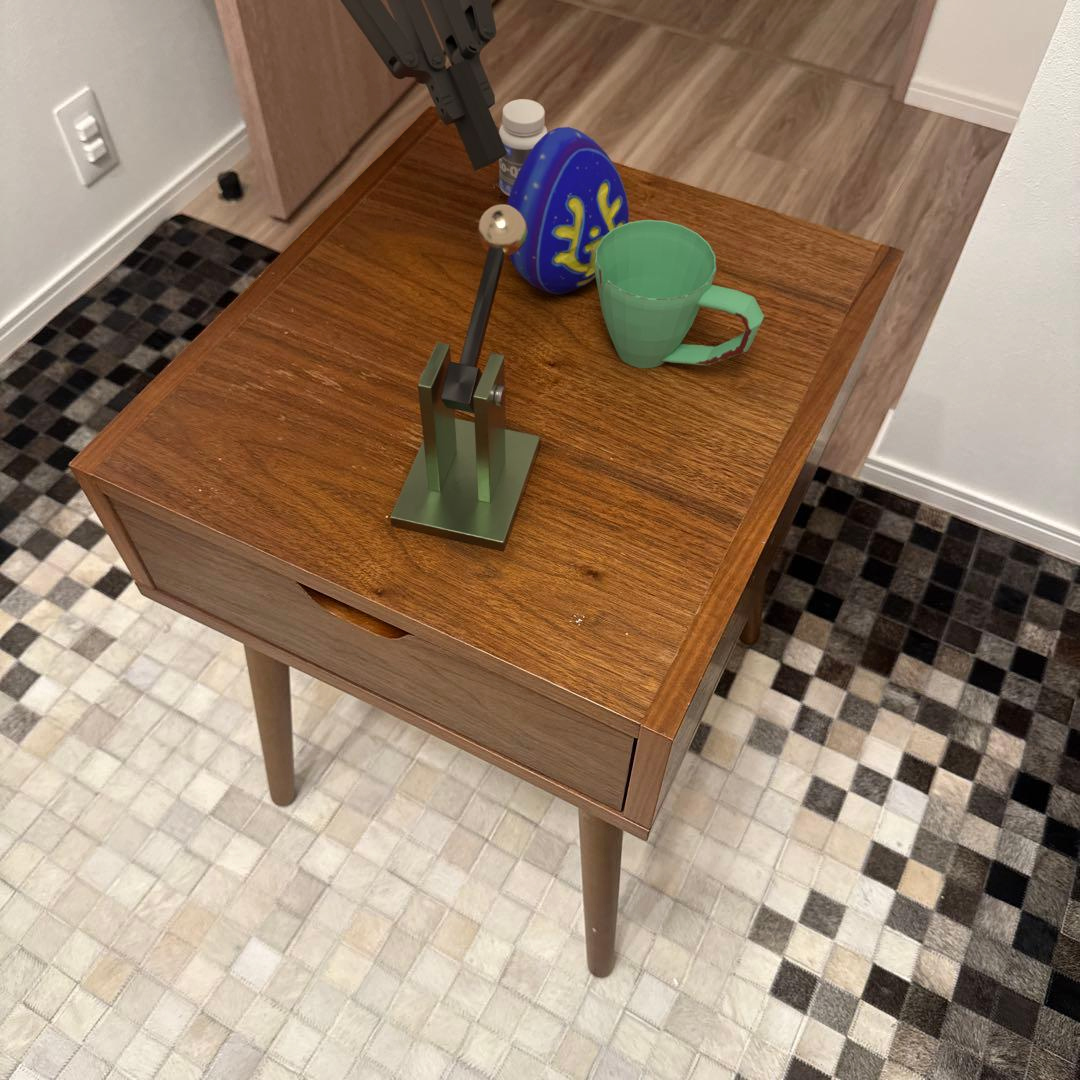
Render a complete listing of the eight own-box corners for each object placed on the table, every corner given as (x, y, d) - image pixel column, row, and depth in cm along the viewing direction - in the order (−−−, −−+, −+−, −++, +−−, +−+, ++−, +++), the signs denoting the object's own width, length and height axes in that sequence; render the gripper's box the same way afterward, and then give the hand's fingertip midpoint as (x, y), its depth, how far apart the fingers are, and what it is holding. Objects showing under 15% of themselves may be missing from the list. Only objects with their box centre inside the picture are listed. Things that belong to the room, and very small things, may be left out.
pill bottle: (491, 193, 107) (489, 117, 100) (511, 167, 109) (510, 91, 102) (534, 206, 106) (536, 130, 99) (553, 179, 108) (556, 103, 101)
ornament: (544, 329, 96) (548, 186, 83) (483, 274, 100) (478, 130, 87) (637, 279, 100) (654, 135, 87) (575, 228, 104) (583, 84, 92)
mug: (567, 361, 93) (572, 271, 85) (620, 296, 98) (630, 205, 90) (720, 428, 89) (741, 339, 81) (767, 356, 94) (791, 266, 86)
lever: (488, 214, 80) (480, 191, 76) (534, 222, 79) (529, 200, 76) (438, 408, 78) (428, 394, 74) (485, 418, 77) (478, 404, 74)
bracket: (435, 423, 89) (424, 305, 78) (540, 445, 88) (543, 328, 77) (391, 526, 83) (373, 413, 72) (503, 551, 81) (502, 440, 71)
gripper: (408, -187, 74) (544, 145, 80) (237, -141, 70) (393, 207, 76) (446, -252, 68) (591, 115, 73) (258, -207, 63) (429, 181, 69)
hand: (490, 162), depth 74 cm, fingers closed
